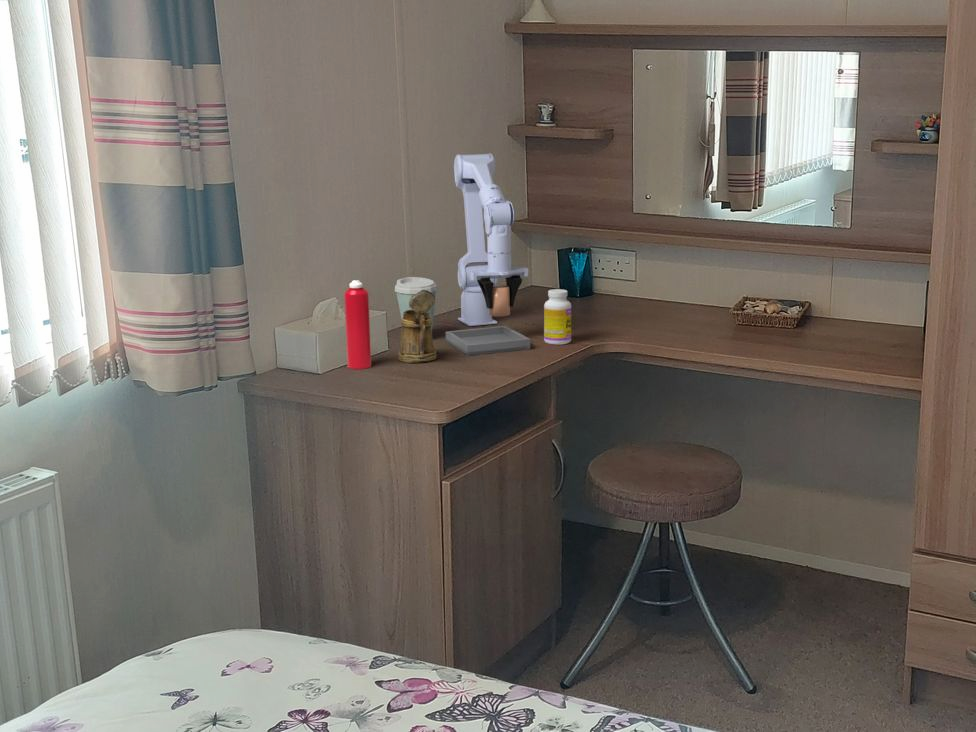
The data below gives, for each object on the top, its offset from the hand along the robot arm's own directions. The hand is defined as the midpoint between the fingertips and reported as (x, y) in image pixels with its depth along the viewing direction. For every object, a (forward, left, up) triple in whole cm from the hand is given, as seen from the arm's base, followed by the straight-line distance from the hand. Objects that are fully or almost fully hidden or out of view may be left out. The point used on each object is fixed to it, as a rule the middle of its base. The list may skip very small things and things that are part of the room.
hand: (499, 307), depth 290 cm
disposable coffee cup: (-10, -18, -9) cm, 23 cm away
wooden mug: (+11, -25, -9) cm, 28 cm away
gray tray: (+3, -5, -9) cm, 10 cm away
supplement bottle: (+7, +12, -9) cm, 17 cm away
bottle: (+10, -39, -9) cm, 41 cm away
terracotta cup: (0, 0, -2) cm, 2 cm away
